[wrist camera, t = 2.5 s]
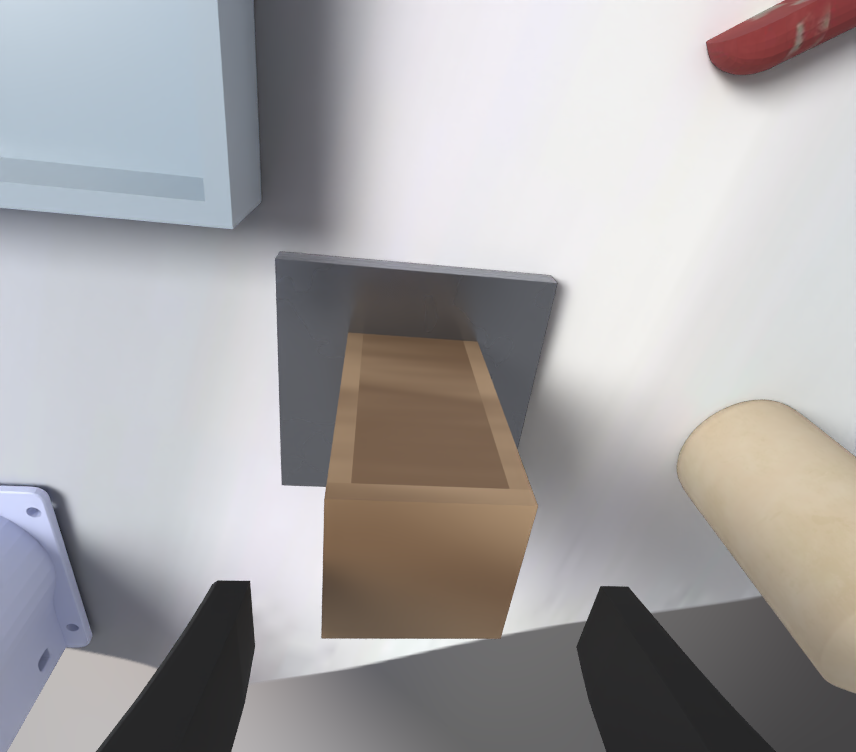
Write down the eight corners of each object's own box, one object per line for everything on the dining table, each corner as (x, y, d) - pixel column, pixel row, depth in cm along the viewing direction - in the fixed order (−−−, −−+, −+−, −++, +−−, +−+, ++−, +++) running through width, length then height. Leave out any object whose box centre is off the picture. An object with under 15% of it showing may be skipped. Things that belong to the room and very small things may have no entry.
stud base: (502, 480, 22) (520, 539, 19) (285, 471, 21) (269, 533, 18) (550, 275, 18) (583, 312, 15) (279, 251, 17) (257, 286, 14)
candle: (794, 375, 21) (1097, 589, 12) (810, 470, 23) (1069, 702, 14) (660, 433, 21) (850, 671, 13) (689, 517, 24) (864, 763, 15)
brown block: (459, 445, 20) (500, 638, 13) (343, 439, 19) (321, 638, 12) (477, 341, 18) (538, 506, 11) (348, 332, 17) (324, 499, 10)
